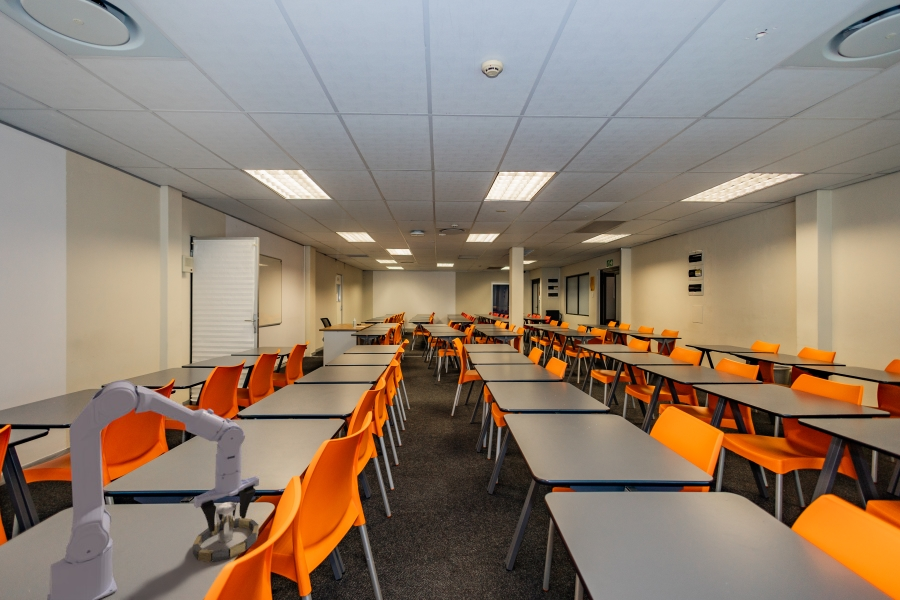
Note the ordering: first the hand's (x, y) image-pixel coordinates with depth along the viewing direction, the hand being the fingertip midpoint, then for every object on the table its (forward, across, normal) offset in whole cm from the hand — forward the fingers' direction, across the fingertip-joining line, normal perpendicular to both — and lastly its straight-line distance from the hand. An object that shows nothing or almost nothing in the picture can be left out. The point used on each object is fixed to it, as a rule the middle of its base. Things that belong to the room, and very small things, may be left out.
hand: (227, 523), depth 93 cm
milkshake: (+5, 0, +1) cm, 5 cm away
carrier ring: (+5, 0, 0) cm, 5 cm away
